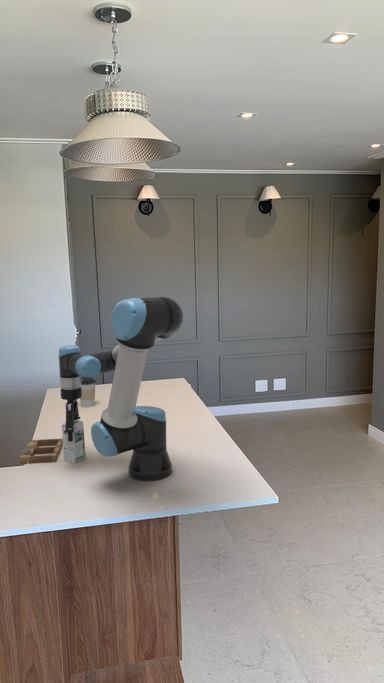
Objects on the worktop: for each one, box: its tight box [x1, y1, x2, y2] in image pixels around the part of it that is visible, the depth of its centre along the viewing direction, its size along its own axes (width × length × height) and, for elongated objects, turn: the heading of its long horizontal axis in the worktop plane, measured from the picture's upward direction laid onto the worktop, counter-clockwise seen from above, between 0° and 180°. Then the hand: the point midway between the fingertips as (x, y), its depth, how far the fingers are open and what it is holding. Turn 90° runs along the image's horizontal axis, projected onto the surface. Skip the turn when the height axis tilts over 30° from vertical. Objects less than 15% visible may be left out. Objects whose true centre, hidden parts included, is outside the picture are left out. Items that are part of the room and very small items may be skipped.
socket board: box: [19, 438, 63, 465], centre depth 191 cm, size 19×13×3 cm
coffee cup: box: [79, 376, 96, 408], centre depth 258 cm, size 9×9×15 cm
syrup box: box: [61, 419, 86, 464], centre depth 184 cm, size 6×6×14 cm
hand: (73, 442), depth 184 cm, fingers open, 13 cm apart
